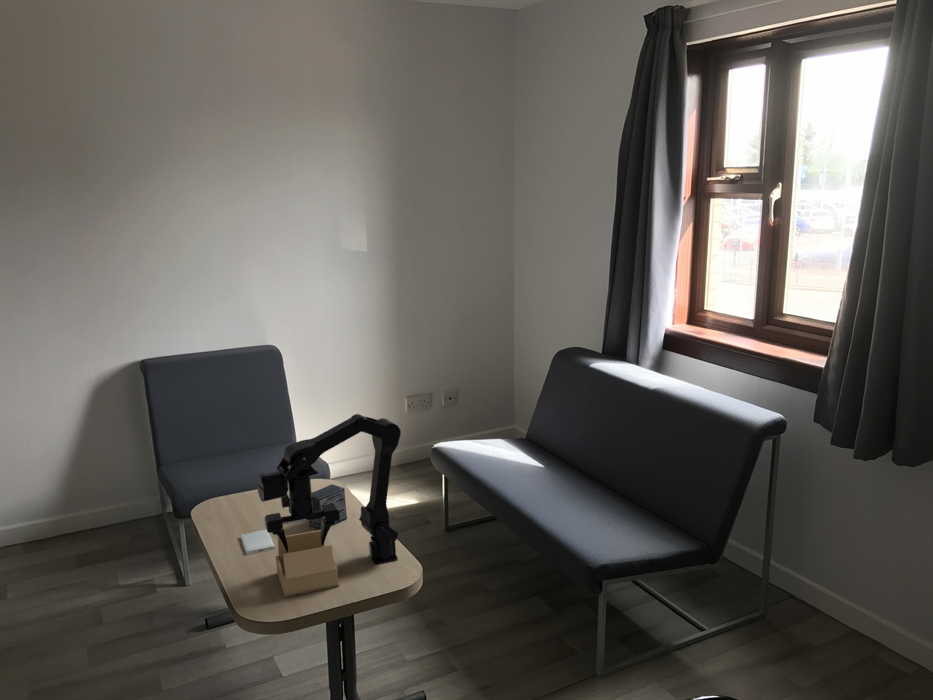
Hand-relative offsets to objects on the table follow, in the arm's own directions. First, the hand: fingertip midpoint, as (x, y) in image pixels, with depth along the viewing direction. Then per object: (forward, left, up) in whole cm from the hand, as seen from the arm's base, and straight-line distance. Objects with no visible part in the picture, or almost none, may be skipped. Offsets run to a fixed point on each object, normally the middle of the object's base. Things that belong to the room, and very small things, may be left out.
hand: (304, 547), depth 206 cm
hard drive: (+10, -28, -10) cm, 31 cm away
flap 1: (0, -6, -1) cm, 6 cm away
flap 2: (0, +6, -1) cm, 6 cm away
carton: (0, 0, -9) cm, 9 cm away
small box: (-12, -34, -9) cm, 37 cm away
